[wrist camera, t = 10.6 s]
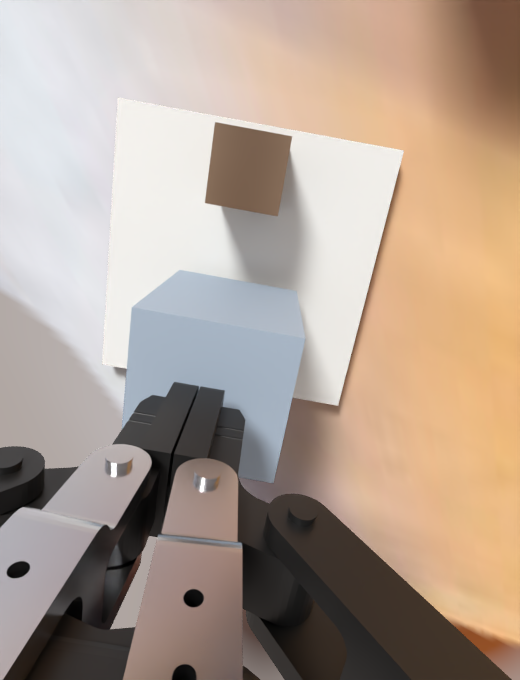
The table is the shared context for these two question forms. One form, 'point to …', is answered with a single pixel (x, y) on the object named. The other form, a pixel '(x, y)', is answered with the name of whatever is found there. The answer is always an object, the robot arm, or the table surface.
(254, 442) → the pastel blue cube
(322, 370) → the board
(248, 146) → the short post
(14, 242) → the table surface
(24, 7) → the table surface
